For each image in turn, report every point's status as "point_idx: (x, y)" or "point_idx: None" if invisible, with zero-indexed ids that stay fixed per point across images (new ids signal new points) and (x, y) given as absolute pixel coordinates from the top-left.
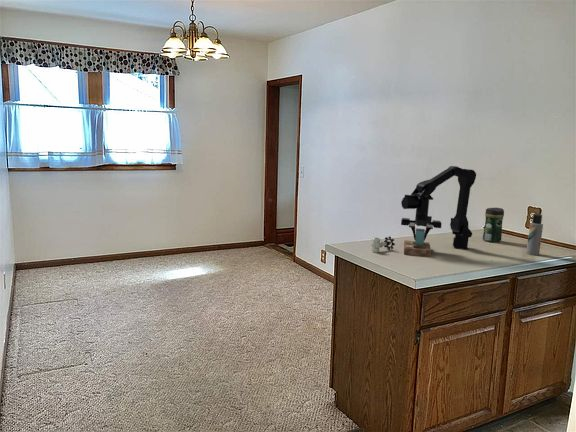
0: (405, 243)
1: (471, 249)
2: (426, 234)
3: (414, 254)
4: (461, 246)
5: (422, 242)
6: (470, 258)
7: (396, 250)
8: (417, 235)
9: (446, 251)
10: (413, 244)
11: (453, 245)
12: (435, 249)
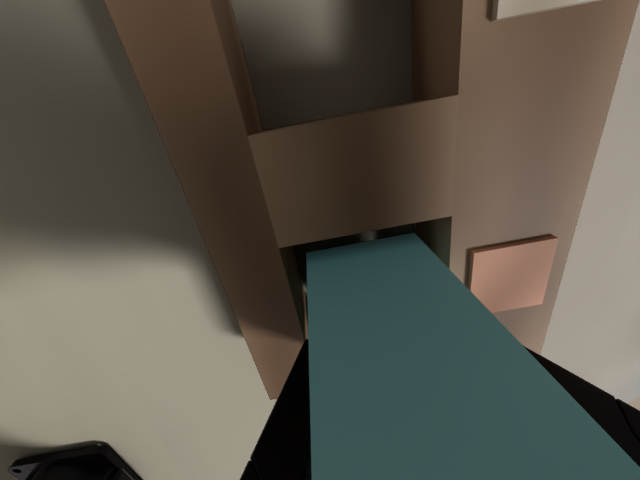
0: (569, 189)
1: (3, 472)
2: (265, 463)
3: None
4: (47, 476)
5: (326, 280)
6: None
7: (630, 41)
8: (482, 354)
9: (103, 332)
10: (450, 191)
11: (118, 475)
12: (214, 346)
